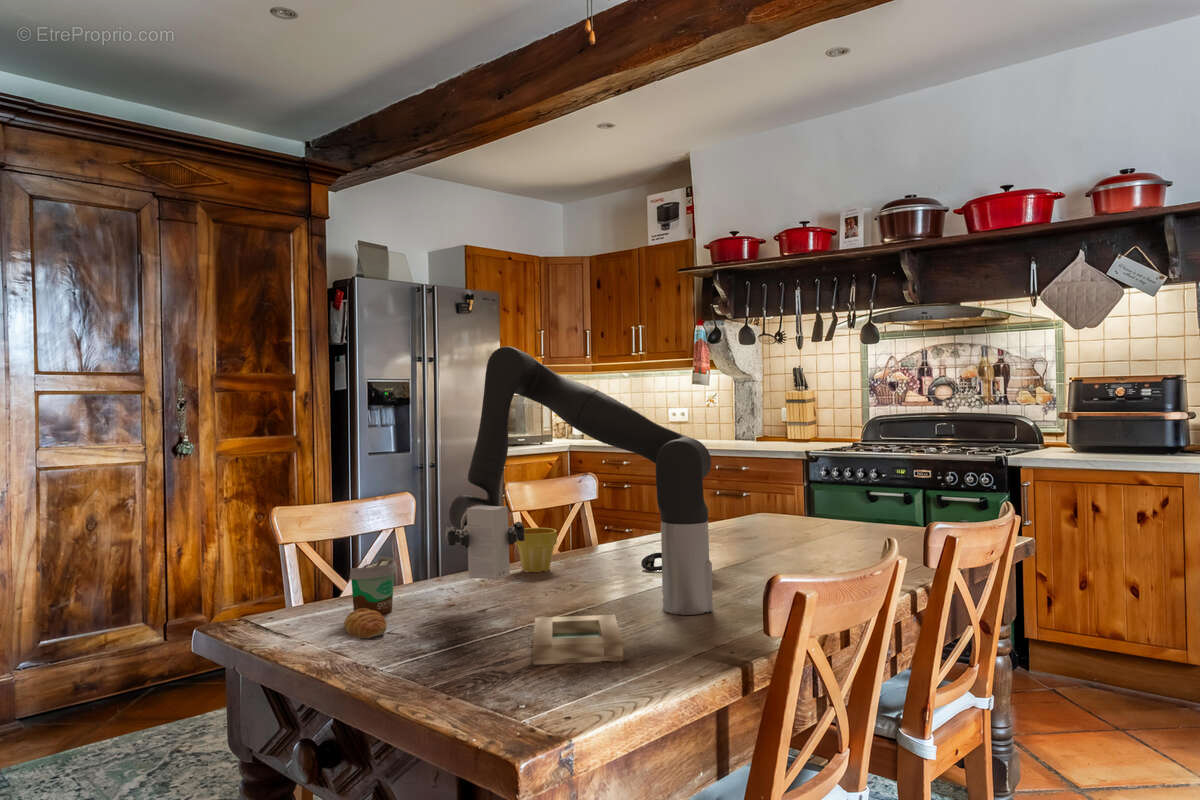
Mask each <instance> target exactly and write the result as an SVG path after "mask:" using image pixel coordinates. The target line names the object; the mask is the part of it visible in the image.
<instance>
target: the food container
mask: <svg viewBox="0 0 1200 800" xmlns="http://www.w3.org/2000/svg"><path fill="white" fill-rule="evenodd" d="M395 573H398V566H397V563H396V561H395V559H394V558H391V557H387V556H379V557H378V561H377V562H374V563H369V564H365V565H363V566H362V567H354V568H353V567H351V568H350V572H349V580H350V581H351V591H352V603H353V604H352V607H353V612H354V611H355V610H357V609H360V608H365V609H370V610H374V611H378V612H379V613H380V614H381V615H382V616H383V617H384V615H385V616H388V615H389V613H390V614H391V613H392V612H393V599H394V597H393V596H394V581H395ZM387 614H388V615H387Z"/></svg>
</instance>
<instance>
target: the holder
mask: <svg viewBox="0 0 1200 800" xmlns="http://www.w3.org/2000/svg"><path fill="white" fill-rule="evenodd" d="M534 618H535V619H534V629H533V639H532V640H533V641H532V642H533V643H532V659H533V660H532V662H533V663H532V664H533V665H535V666H537V665H556V664H557V665H558V664H559V665H560V664H562V665H564V664H581V663H586V664H587V663H602V662H601V661H612V662H624V645H623V644H624V643H623V642H624V641H623V637H622V635H621V631H620V629H619V626H618V621H617V617H616V615H615V614H603V615H602V614H600V615H599V614H598V615H575V616H574V615H573V616H568V615H567V616H547V617H544V616H543V617H534Z"/></svg>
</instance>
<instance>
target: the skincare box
mask: <svg viewBox="0 0 1200 800" xmlns="http://www.w3.org/2000/svg"><path fill="white" fill-rule="evenodd" d="M508 514H509V510H508V506H506V505H505V506H504V505H503V506H502V505H500V506H476V507H472V508H467V533H468V537H469V548H467V564H468V565H467V566H468V567H467V569H468V578H469V579H483V580H485V579H486V580H493V581H494V580H496V581H498V580H500V579H502V578H503V579H504V578H505V577H508V576H510V573H511V571H510V570H511V566H510V545H509V535H508V526H509V515H508Z"/></svg>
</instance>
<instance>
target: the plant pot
mask: <svg viewBox="0 0 1200 800" xmlns="http://www.w3.org/2000/svg"><path fill="white" fill-rule="evenodd" d="M524 537H525V540H523V541H519V540H518V539H517V542H514V545H515V546H517V549H518V551H517V552H518V554H519V560H520V564H521V569H522V571H523V572H524V571H527V572H526V573H529V572H540V573H542V572H541V571H546V572H548V571H547V570H549V571H550V570H551V563H552V557H553V553H554V548H555V545H556V544H558V543H557V541H558V538H557V537H558V533H557V530H556V529H555V528H549V527H524Z"/></svg>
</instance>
